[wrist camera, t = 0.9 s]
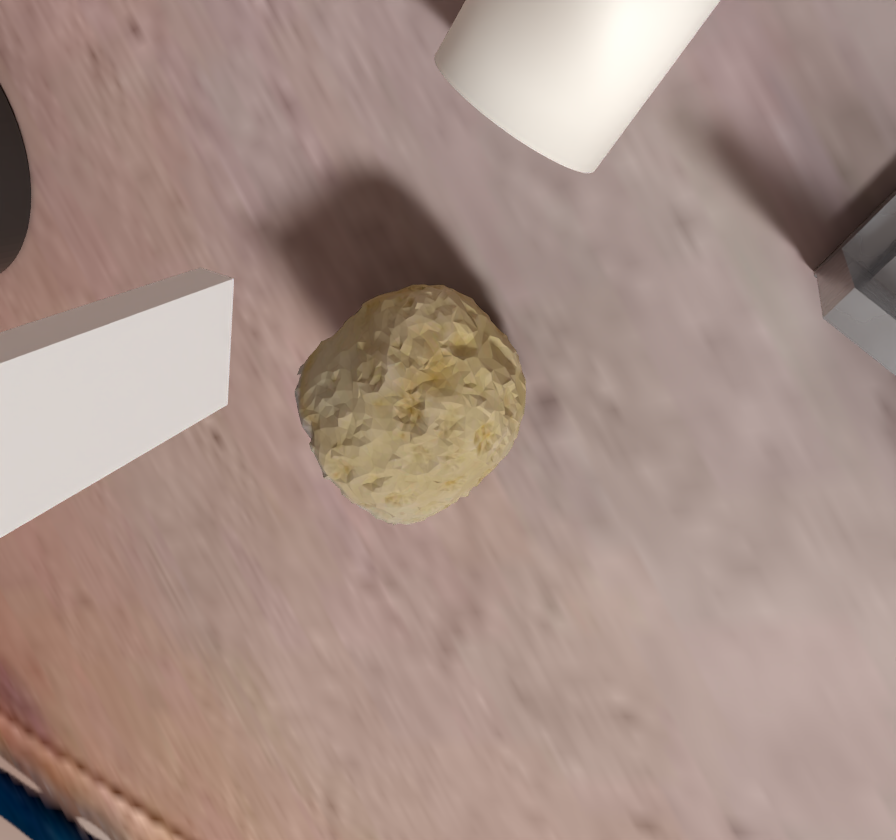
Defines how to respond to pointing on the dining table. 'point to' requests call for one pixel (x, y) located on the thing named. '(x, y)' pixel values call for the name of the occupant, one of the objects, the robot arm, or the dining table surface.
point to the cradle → (864, 285)
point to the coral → (412, 402)
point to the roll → (566, 66)
